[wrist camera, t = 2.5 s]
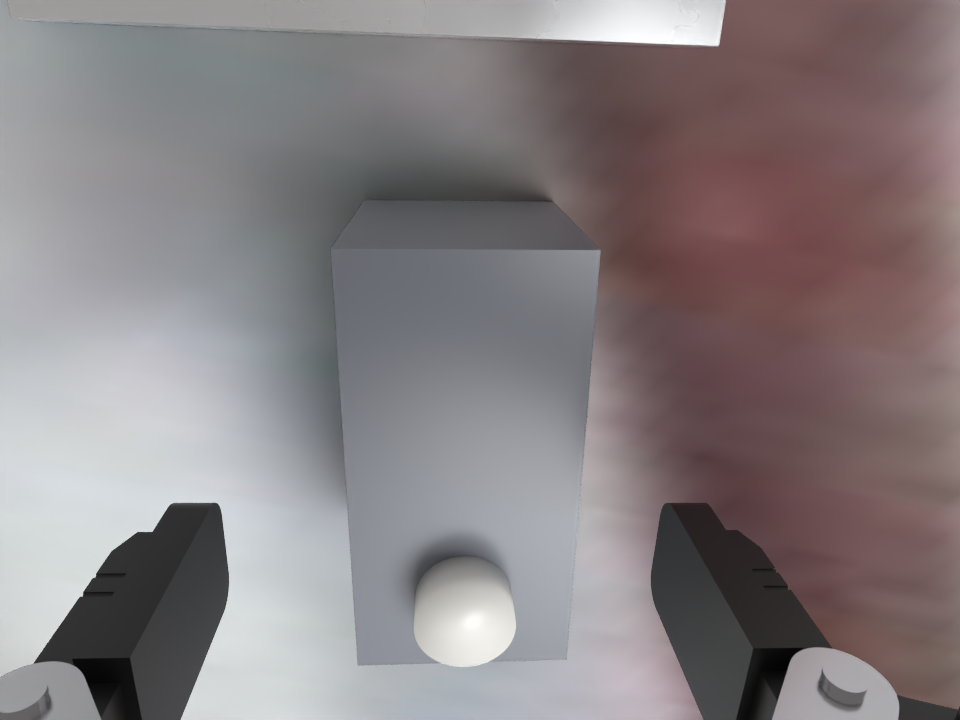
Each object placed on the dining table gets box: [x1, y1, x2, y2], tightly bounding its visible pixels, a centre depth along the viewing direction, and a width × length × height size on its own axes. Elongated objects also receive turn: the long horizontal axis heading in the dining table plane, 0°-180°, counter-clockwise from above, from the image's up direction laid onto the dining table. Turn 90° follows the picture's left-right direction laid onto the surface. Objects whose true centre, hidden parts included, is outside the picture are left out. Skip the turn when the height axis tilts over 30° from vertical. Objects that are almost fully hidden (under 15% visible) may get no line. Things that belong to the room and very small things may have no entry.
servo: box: [330, 200, 601, 667], centre depth 17 cm, size 5×10×7 cm, turn 179°
